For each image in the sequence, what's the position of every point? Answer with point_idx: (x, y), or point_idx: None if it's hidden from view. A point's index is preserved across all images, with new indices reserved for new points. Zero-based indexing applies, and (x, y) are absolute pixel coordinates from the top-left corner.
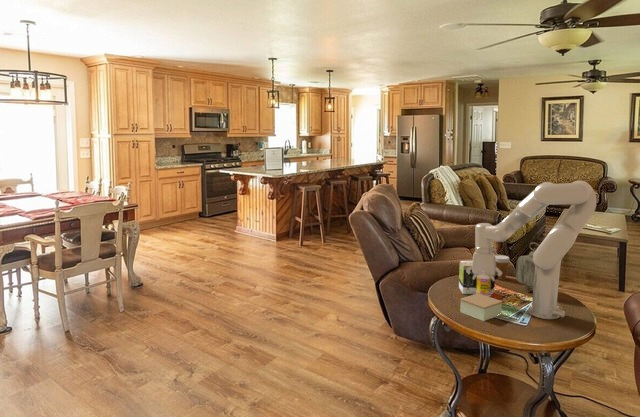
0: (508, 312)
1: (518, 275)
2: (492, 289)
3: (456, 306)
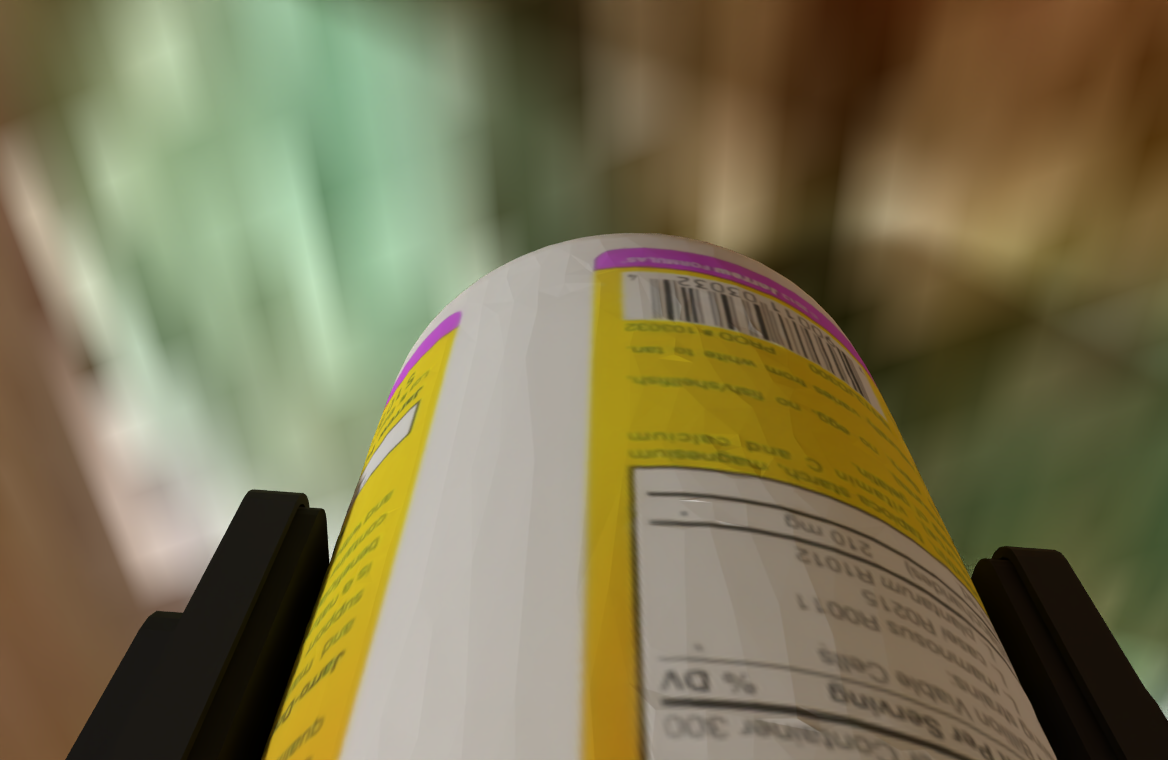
0: None
1: None
2: None
3: None
